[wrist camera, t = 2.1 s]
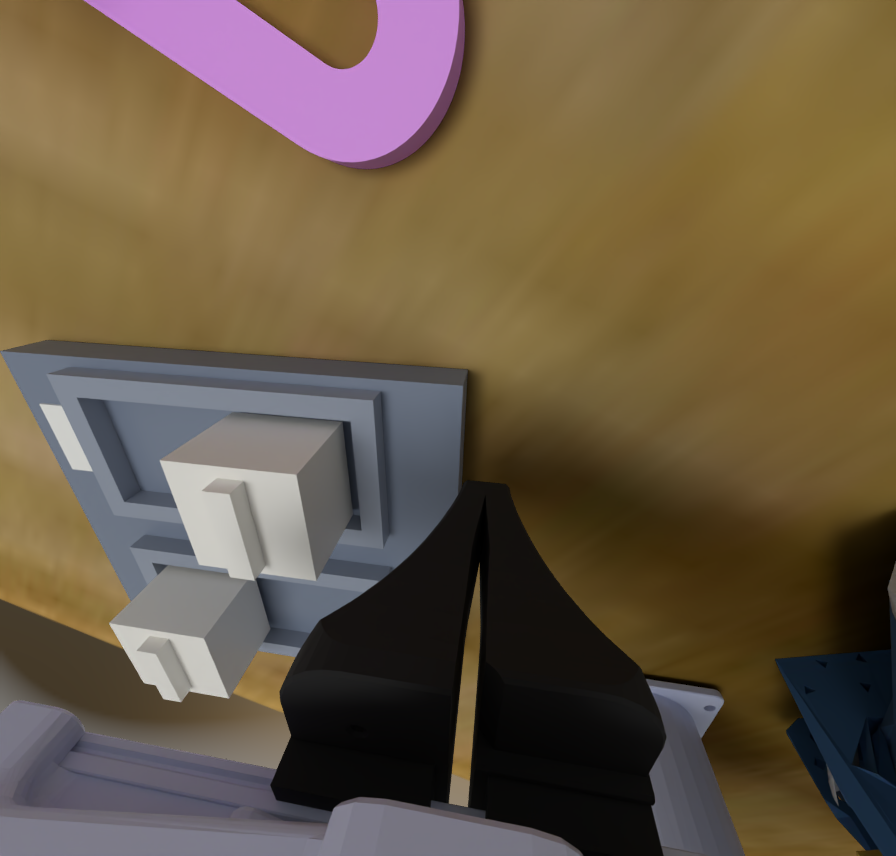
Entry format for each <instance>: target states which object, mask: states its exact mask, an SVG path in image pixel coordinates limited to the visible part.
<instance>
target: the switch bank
mask: <svg viewBox="0 0 896 856" xmlns="http://www.w3.org/2000/svg"><path fill="white" fill-rule="evenodd" d="M0 352H1V354H2V356H3V358H4V360H5V362H6V364H7V366H8V367H9V369H10V371H11V373H12V375H13V377H14V379H15V381H16V383H17V385H18V387H19V388H20V390H21V392H22V394H23V396H24V398H25V400H26V402H27V404H28V406H29V408H30V409H31V411H32V413H33V415H34V417H35V419H36V421H37V423H38V425H39V427H40V429H41V430H42V432H43V434H44V436H45V438H46V440H47V442H48V444H49V446H50V448H51V450H52V451H53V453H54V455H55V457H56V459H57V461H58V463H59V465H60V467H61V469H62V471H63V472H64V474H65V476H66V478H67V480H68V482H69V484H70V486H71V488H72V490H73V492H74V493H75V495H76V497H77V499H78V501H79V503H80V505H81V507H82V509H83V511H84V513H85V514H86V516H87V518H88V520H89V522H90V524H91V526H92V528H93V530H94V532H95V534H96V535H97V537H98V539H99V541H100V543H101V545H102V547H103V549H104V551H105V553H106V555H107V556H108V558H109V560H110V562H111V564H112V566H113V568H114V570H115V572H116V574H117V576H118V577H119V579H120V581H121V583H122V585H123V587H124V589H125V591H126V593H127V595H128V597H129V598H130V600H131V601H132V600H133V599H134V598H135V597H136V596H137V595H138V594H139V593H140V592H141V591H142V590H143V589H144V588H145V587H146V586H147V585H148V584H149V583H150V582H151V581H152V580H153V579H154V578H155V577H156V576H157V575H159V574H160V573H161V572H162V571H163V570H164V569H165V568H166V567H167V566H168V565H172V566H179V567H186V568H193V569H200V570H208V571H215V572H222V573H228V570H227V569H225V568H218V567H211V566H203V565H199V563H198V561H197V558H196V555H195V553H194V550H193V548H192V545H191V542H190V540H189V537H188V534H187V532H186V529H185V526H184V524H183V521H182V518H181V516H180V513H179V511H178V508H177V505H176V503H175V500H174V497H173V495H172V492H171V489H170V487H169V484H168V482H167V479H166V476H165V474H164V471H163V468H162V466H161V463H160V460H161V459H162V458H164V457H165V456H167V455H168V454H170V453H171V452H173V451H174V450H176V449H177V448H179V447H180V446H182V445H183V444H185V443H187V442H188V441H190V440H191V439H193V438H194V437H196V436H197V435H199V434H200V433H202V432H203V431H205V430H206V429H208V428H209V427H211V426H212V425H214V424H215V423H217V422H218V421H220V420H222V419H223V418H225V417H226V416H228V415H229V414H231V413H232V412H238V413H249V414H261V415H272V416H283V417H295V418H306V419H317V420H328V421H340V422H343V430H344V439H345V448H346V457H347V466H348V475H349V483H350V492H351V501H352V510H353V515H352V517H351V519H350V521H349V523H348V524H347V526H346V528H345V530H344V532H343V534H342V535H341V537H340V539H339V541H338V543H337V544H336V546H335V548H334V550H333V552H332V554H331V555H330V557H329V559H328V561H327V563H326V565H325V566H324V568H323V570H322V572H321V574H320V575H319V577H318V579H317V581H312V580H305V579H298V578H290V577H283V576H276V575H269V574H261V573H260V574H259V576H258V577H257V578H256V581H257V585H258V588H259V591H260V595H261V598H262V602H263V605H264V609H265V612H266V615H267V619H268V622H269V626H270V631H269V633H268V634H267V636H266V638H265V639H264V641H263V643H262V644H261V646H260V648H259V649H258V651H262V652H268V653H275V654H281V655H287V656H293V657H296V656H297V654H298V652H299V650H300V649H301V647H302V645H303V644H304V642H305V641H306V639H307V638H308V636H309V635H310V633H311V632H312V630H313V629H314V627H315V626H316V624H317V623H318V621H319V620H320V619H322V618H324V617H326V616H327V615H329V614H331V613H332V612H334V611H336V610H337V609H339V608H341V607H342V606H344V605H346V604H347V603H349V602H351V601H352V600H354V599H355V598H357V597H358V596H360V595H361V594H362V593H364V592H365V591H367V590H368V589H369V588H371V587H372V586H373V585H375V584H376V583H378V582H379V581H380V580H382V579H383V578H384V577H385V576H387V575H388V574H389V573H390V572H392V571H393V570H394V569H395V568H396V567H397V566H398V565H400V564H401V563H402V562H403V561H404V560H405V559H406V558H407V557H408V556H409V555H410V554H411V553H413V552H414V551H415V550H416V549H417V548H418V546H419V545H420V544H421V543H422V542H423V541H424V540H425V539H426V538H427V537H428V535H429V534H430V533H431V532H432V531H433V529H434V528H435V527H436V526H437V525H438V523H439V522H440V521H441V520H442V518H443V517H444V515H445V514H446V512H447V511H448V510H449V508H450V507H451V505H452V504H453V502H454V501H455V499H456V497H457V496H458V494H459V492H460V490H461V488H462V472H463V453H464V433H465V414H466V394H467V375H468V370H466V369H452V368H438V367H423V366H409V365H395V364H381V363H366V362H352V361H338V360H323V359H309V358H295V357H281V356H266V355H252V354H238V353H223V352H209V351H195V350H180V349H166V348H152V347H138V346H123V345H109V344H95V343H80V342H66V341H52V340H45V341H41V342H36V343H32V344H28V345H24V346H20V347H15V348H11V349H7V350H3V351H0Z"/></svg>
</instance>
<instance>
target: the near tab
mask: <svg viewBox="0 0 896 856" xmlns="http://www.w3.org/2000/svg"><path fill="white" fill-rule="evenodd" d="M160 463H161V466H162V468H163V471H164V474H165V476H166V479H167V482H168V484H169V487H170V489H171V492H172V495H173V497H174V500H175V503H176V505H177V508H178V511H179V513H180V516H181V518H182V521H183V524H184V526H185V529H186V532H187V534H188V537H189V540H190V542H191V545H192V548H193V550H194V553H195V555H196V558H197V561H198V563H199V565H203V566H211V567H218V568H225V569H227V570H228V573H229V576H230V577H231V578H238V579H245V580H252V581H255V580H256V578H257V577H258V576H259V574H260V573H261V574H269V575H276V576H283V577H290V578H298V579H305V580H312V581H317V579H318V577H319V575H320V574H321V572H322V570H323V568H324V566H325V565H326V563H327V561H328V559H329V557H330V555H331V554H332V552H333V550H334V548H335V546H336V544H337V543H338V541H339V539H340V537H341V535H342V534H343V532H344V530H345V528H346V526H347V524H348V523H349V521H350V519H351V517H352V515H353V510H352V501H351V492H350V483H349V475H348V466H347V457H346V448H345V439H344V430H343V422H340V421H328V420H317V419H306V418H295V417H283V416H272V415H261V414H249V413H238V412H232V413H231V414H229V415H228V416H226V417H225V418H223V419H222V420H220V421H218V422H217V423H215V424H214V425H212V426H211V427H209V428H208V429H206V430H205V431H203V432H202V433H200V434H199V435H197V436H196V437H194V438H193V439H191V440H190V441H188V442H187V443H185V444H183V445H182V446H180V447H179V448H177V449H176V450H174V451H173V452H171V453H170V454H168V455H167V456H165V457H164V458H162V459H161V460H160Z"/></svg>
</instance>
